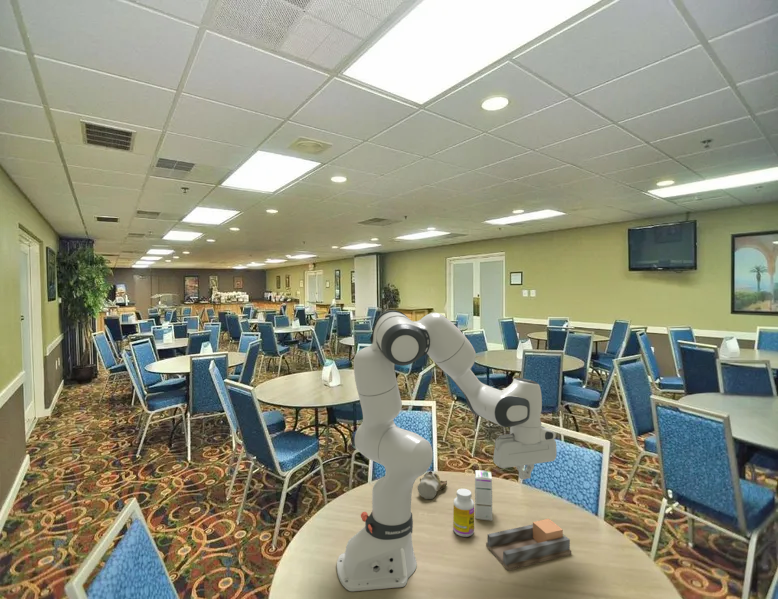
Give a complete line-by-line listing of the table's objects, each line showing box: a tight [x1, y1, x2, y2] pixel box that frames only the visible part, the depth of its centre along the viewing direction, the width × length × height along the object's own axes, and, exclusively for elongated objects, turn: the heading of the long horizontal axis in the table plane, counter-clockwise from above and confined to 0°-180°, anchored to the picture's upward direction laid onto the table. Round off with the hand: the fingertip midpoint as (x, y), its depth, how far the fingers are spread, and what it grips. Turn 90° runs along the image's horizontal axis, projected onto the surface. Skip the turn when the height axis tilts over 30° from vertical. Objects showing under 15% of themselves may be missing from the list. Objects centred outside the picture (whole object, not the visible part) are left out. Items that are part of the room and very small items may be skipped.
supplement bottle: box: [452, 488, 475, 538], centre depth 125 cm, size 7×7×13 cm
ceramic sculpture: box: [417, 470, 448, 500], centre depth 149 cm, size 11×9×15 cm
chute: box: [485, 523, 572, 571], centre depth 116 cm, size 22×11×4 cm, turn 108°
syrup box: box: [474, 469, 493, 521], centre depth 134 cm, size 6×6×14 cm
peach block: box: [532, 518, 564, 543], centre depth 118 cm, size 6×6×5 cm
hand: (524, 478), depth 116 cm, fingers closed
